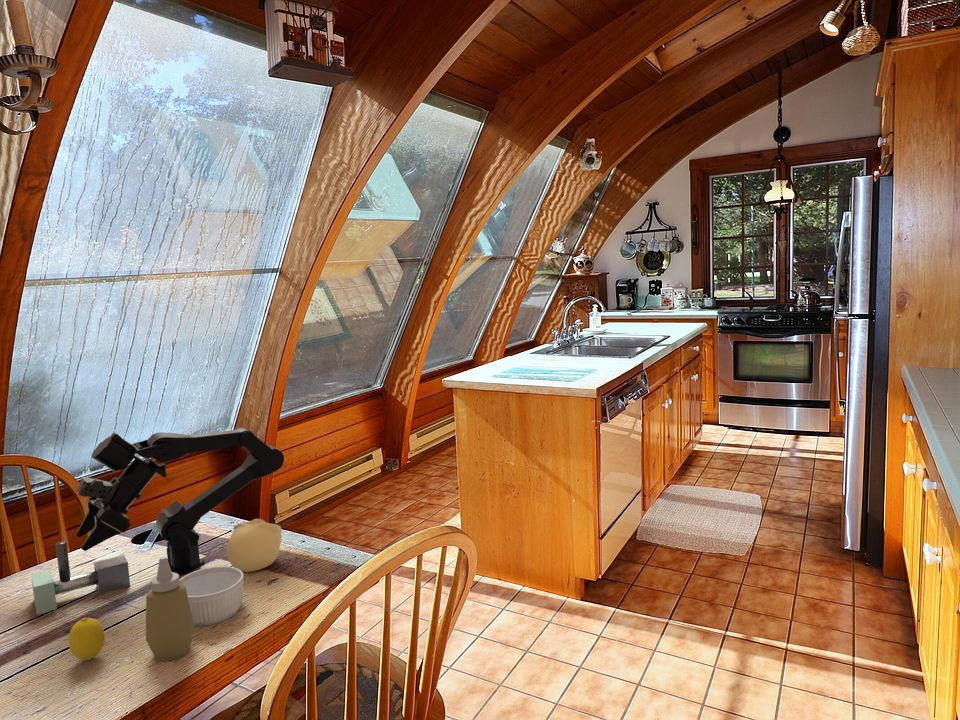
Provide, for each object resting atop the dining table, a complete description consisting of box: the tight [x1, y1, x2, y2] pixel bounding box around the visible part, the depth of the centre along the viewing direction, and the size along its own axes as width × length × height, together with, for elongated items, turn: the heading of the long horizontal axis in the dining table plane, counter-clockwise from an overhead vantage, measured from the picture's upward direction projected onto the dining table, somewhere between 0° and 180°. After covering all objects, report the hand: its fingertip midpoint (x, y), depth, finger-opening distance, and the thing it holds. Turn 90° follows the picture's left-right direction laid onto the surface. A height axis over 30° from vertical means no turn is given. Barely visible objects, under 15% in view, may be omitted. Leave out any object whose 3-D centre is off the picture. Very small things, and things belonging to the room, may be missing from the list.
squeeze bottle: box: [145, 556, 195, 662], centre depth 120 cm, size 8×8×18 cm
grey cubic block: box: [93, 554, 131, 595], centre depth 148 cm, size 6×5×6 cm
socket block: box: [30, 568, 58, 615], centre depth 140 cm, size 4×8×6 cm, turn 37°
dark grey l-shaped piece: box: [54, 540, 98, 596], centre depth 143 cm, size 12×3×11 cm, turn 127°
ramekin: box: [179, 565, 245, 627], centre depth 135 cm, size 13×13×7 cm
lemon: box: [68, 617, 106, 661], centre depth 119 cm, size 6×6×8 cm
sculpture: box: [226, 518, 283, 573], centre depth 156 cm, size 11×12×11 cm
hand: (80, 543), depth 144 cm, fingers open, 9 cm apart
